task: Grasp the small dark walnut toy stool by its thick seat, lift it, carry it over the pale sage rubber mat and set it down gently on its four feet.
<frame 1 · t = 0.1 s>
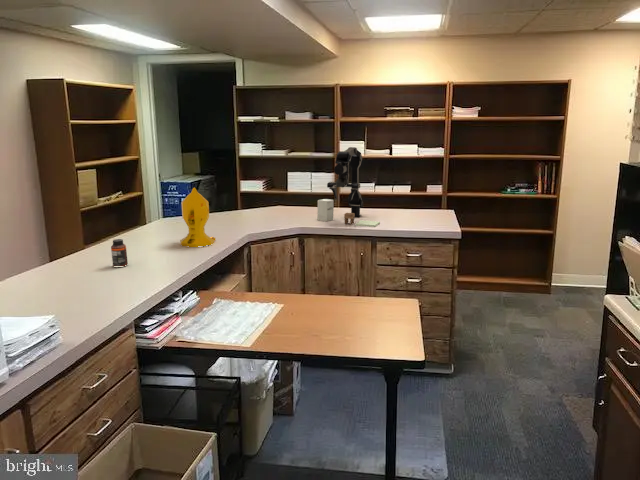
hand: (343, 199, 305), 15 cm above the worktop, fingers open, 9 cm apart
sage mat: (367, 224, 307), on the worktop
supplement box: (325, 220, 321), on the worktop
yellow pointed sculpture: (199, 243, 260), on the worktop
toy stool: (349, 223, 310), on the worktop
supplement bottle: (120, 266, 219), on the worktop
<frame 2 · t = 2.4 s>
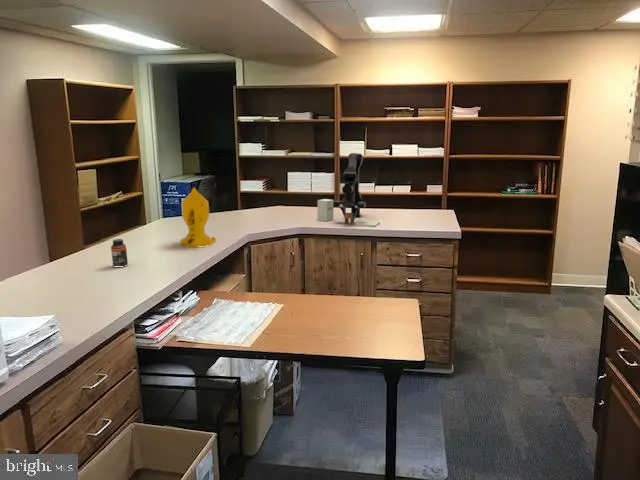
hand: (349, 218, 309), 3 cm above the worktop, fingers closed on toy stool, 5 cm apart
toy stool: (349, 223, 310), on the worktop, touching gripper
everything else where it was.
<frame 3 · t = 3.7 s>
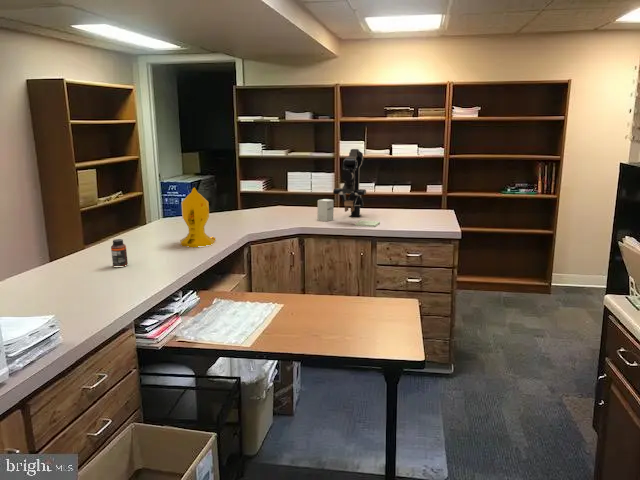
hand: (349, 206, 307), 11 cm above the worktop, fingers closed on toy stool, 5 cm apart
toy stool: (349, 211, 308), point 7 cm above the worktop, touching gripper
everything else where it was.
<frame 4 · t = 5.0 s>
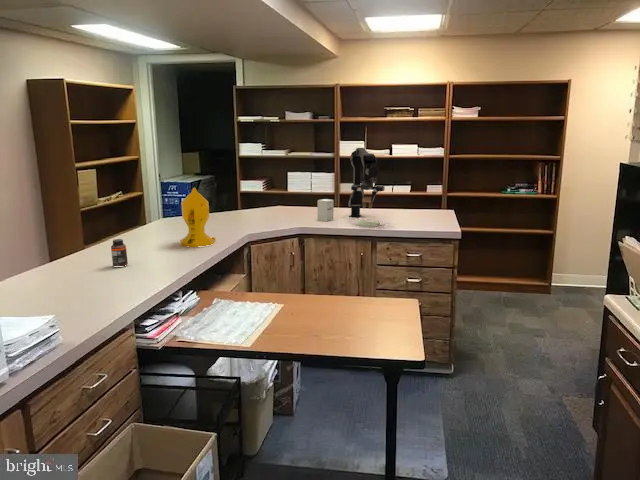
hand: (367, 202, 304), 13 cm above the worktop, fingers closed on toy stool, 5 cm apart
toy stool: (367, 207, 305), point 10 cm above the worktop, touching gripper
everything else where it was.
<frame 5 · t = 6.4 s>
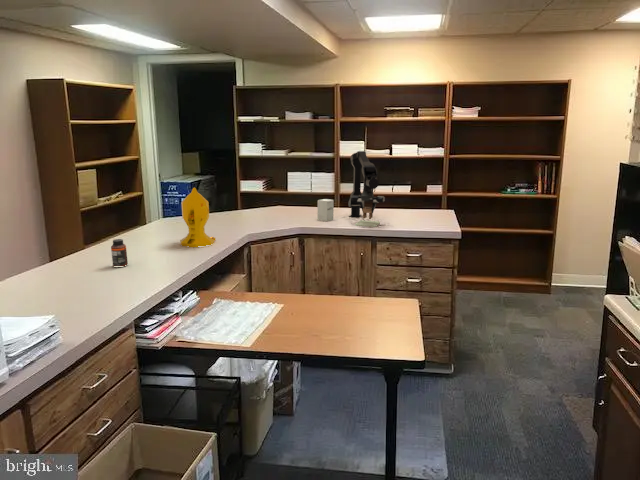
hand: (367, 213, 306), 7 cm above the worktop, fingers closed on toy stool, 5 cm apart
toy stool: (367, 218, 306), point 4 cm above the worktop, touching gripper
everything else where it was.
when the fingers open (5 cm above the worktop, at t = 7.7 s): toy stool stays where it is, resting on sage mat.
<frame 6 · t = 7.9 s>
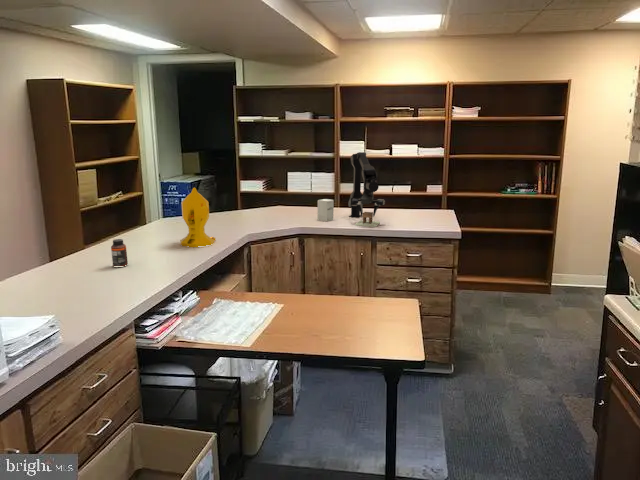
hand: (367, 216, 306), 5 cm above the worktop, fingers open, 7 cm apart
toy stool: (367, 222, 307), point 1 cm above the worktop, touching sage mat
everything else where it was.
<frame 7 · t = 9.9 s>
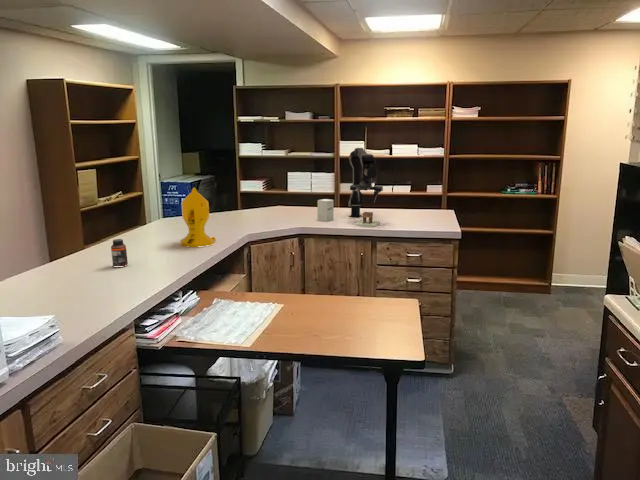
hand: (366, 202, 308), 13 cm above the worktop, fingers open, 9 cm apart
nothing on the worktop moved.
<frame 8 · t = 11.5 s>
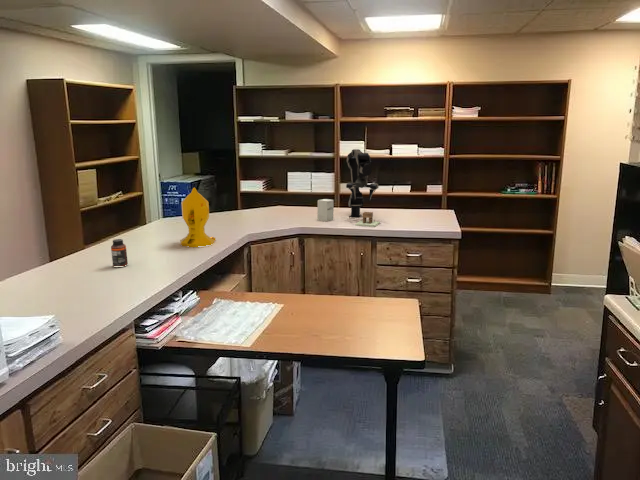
hand: (362, 200, 314), 13 cm above the worktop, fingers open, 9 cm apart
nothing on the worktop moved.
at the end: toy stool inside the target area on the sage mat (0.1 cm from its centre), point 1.0 cm above the sage mat's base; toy stool tilted 0°; the gripper is holding nothing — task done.
